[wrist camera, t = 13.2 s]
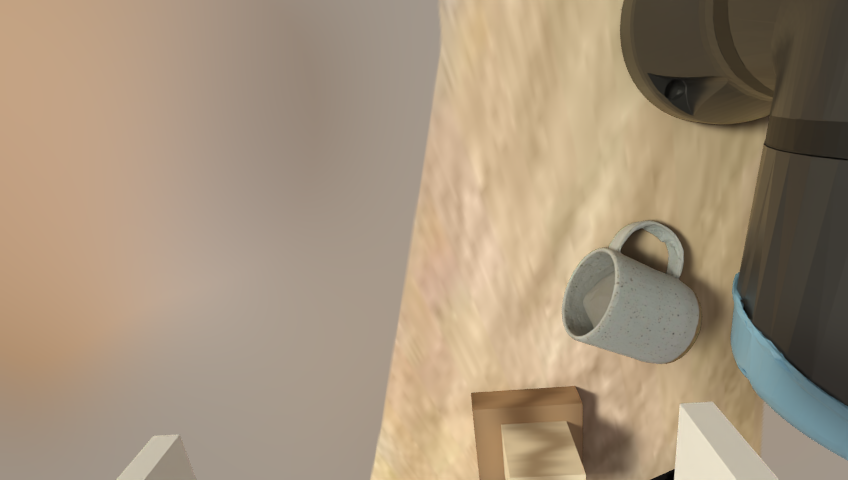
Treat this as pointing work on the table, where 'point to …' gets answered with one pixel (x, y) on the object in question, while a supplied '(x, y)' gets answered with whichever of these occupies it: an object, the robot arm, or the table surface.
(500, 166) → the table surface
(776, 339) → the robot arm
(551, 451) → the maple block
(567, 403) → the walnut block
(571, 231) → the table surface
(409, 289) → the table surface
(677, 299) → the ceramic mug
